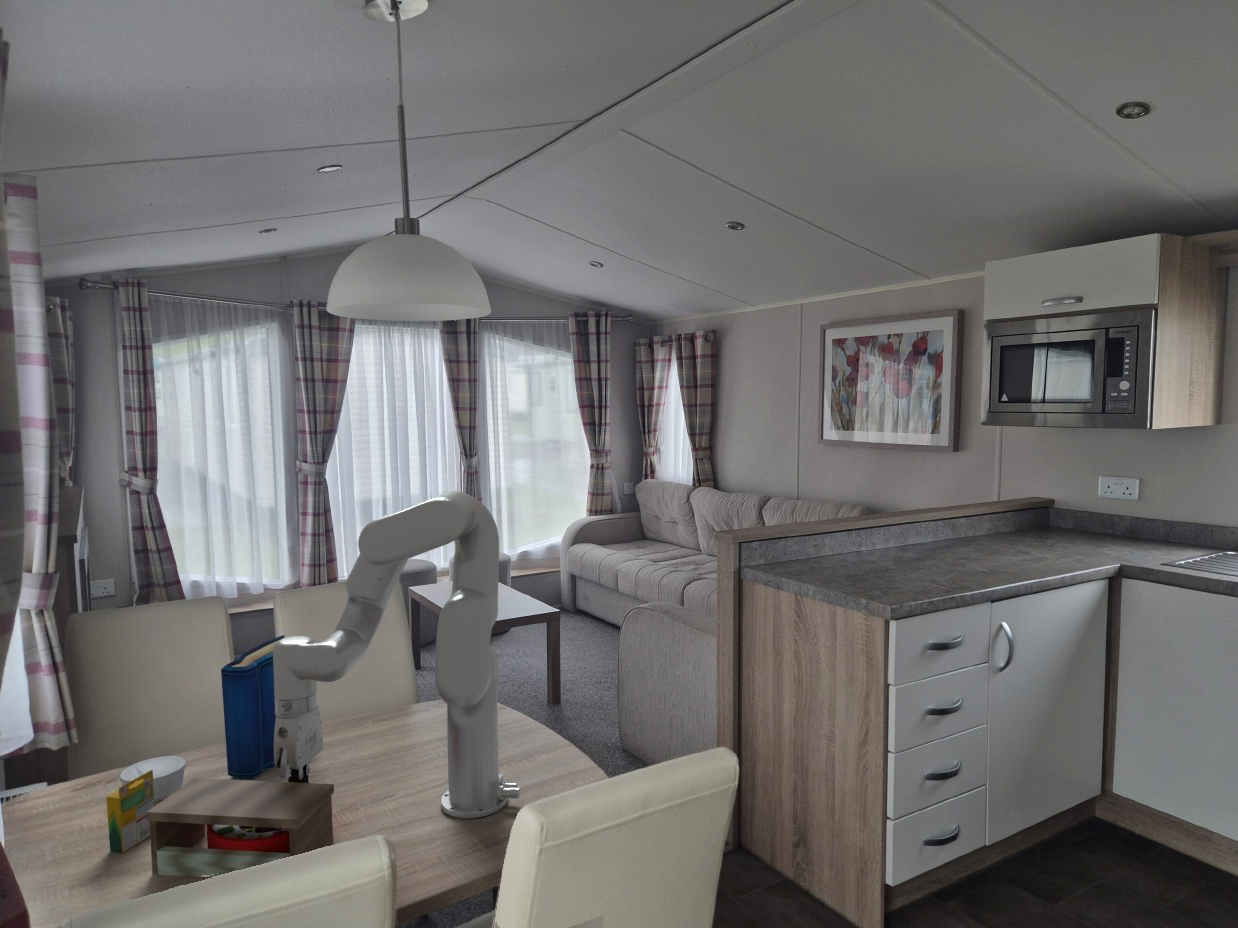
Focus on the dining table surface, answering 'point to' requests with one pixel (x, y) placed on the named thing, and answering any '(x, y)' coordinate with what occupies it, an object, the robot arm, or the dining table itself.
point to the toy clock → (248, 838)
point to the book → (250, 711)
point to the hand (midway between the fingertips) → (298, 796)
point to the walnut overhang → (236, 822)
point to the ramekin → (158, 774)
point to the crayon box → (130, 813)
